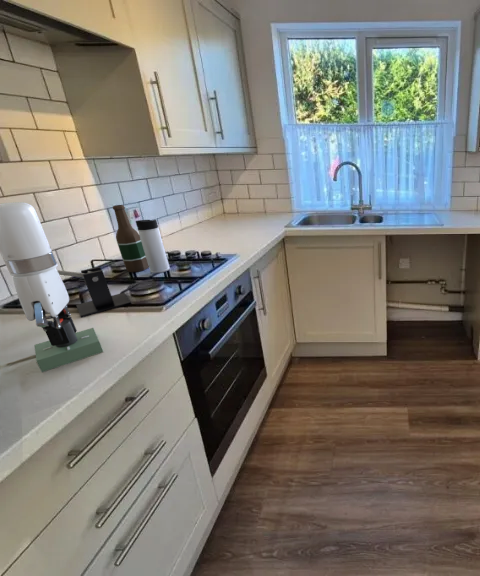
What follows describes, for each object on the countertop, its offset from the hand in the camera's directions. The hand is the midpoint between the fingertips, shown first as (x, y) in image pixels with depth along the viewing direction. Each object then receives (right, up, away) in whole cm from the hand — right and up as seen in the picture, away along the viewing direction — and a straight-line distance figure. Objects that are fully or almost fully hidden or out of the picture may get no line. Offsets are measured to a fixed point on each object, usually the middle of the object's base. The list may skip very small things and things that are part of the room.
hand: (64, 338), depth 83 cm
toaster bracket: (-9, +6, +24) cm, 26 cm away
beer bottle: (-21, +19, +55) cm, 62 cm away
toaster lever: (-13, +14, +17) cm, 25 cm away
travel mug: (-9, +17, +51) cm, 54 cm away
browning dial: (0, -1, +1) cm, 1 cm away
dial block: (0, -4, +2) cm, 4 cm away
